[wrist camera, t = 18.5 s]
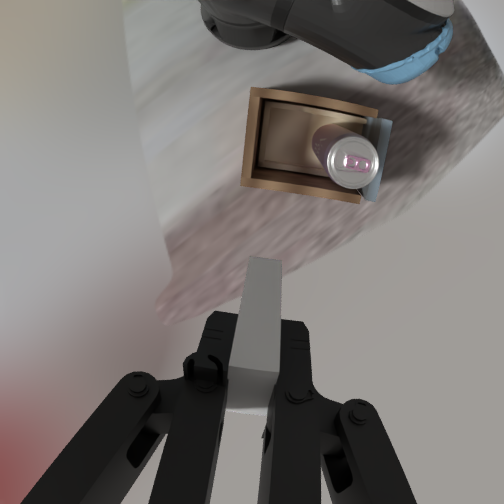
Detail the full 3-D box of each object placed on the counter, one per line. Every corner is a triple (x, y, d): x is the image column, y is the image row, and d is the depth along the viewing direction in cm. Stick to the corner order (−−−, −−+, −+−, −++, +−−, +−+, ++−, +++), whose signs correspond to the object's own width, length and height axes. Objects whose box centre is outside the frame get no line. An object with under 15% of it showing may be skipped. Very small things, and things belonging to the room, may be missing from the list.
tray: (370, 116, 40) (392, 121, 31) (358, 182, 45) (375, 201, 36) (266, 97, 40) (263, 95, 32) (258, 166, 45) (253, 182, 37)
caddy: (360, 107, 39) (378, 109, 32) (346, 185, 46) (359, 204, 38) (256, 90, 40) (250, 87, 32) (247, 170, 46) (240, 185, 38)
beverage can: (345, 165, 43) (373, 196, 29) (307, 157, 43) (320, 184, 30) (353, 128, 40) (386, 142, 27) (315, 119, 40) (331, 128, 27)
